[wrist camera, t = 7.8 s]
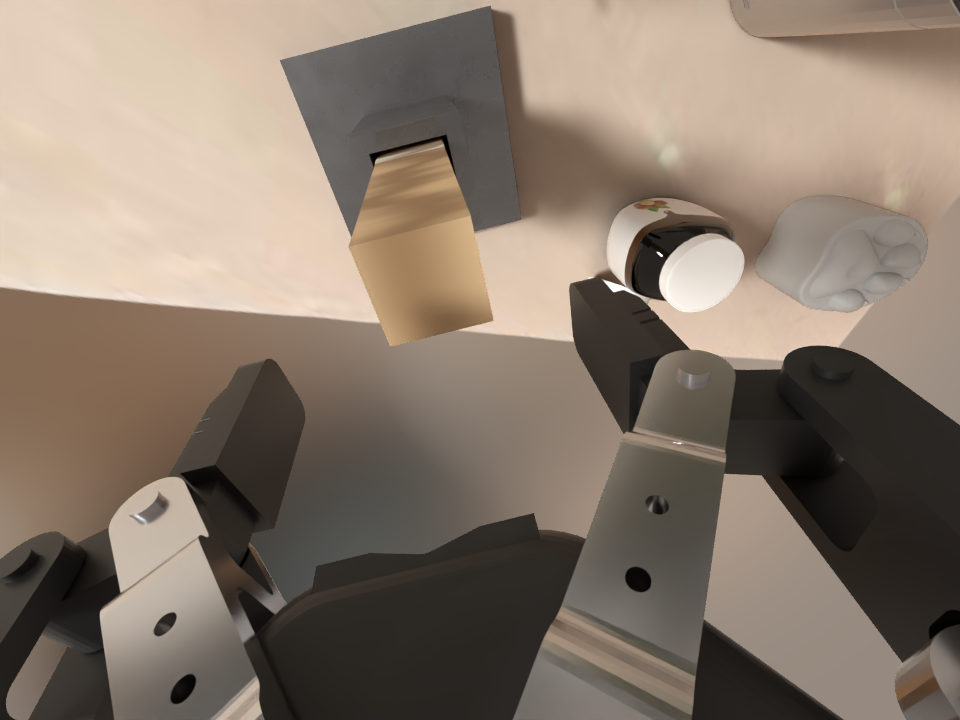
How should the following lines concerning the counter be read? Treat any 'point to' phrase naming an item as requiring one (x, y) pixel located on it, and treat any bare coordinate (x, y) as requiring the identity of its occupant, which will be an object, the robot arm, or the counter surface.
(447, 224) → the oak post
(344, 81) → the metal sleeve stand
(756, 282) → the counter surface
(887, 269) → the lumpy-topped squat cylinder
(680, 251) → the spread jar
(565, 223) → the counter surface
